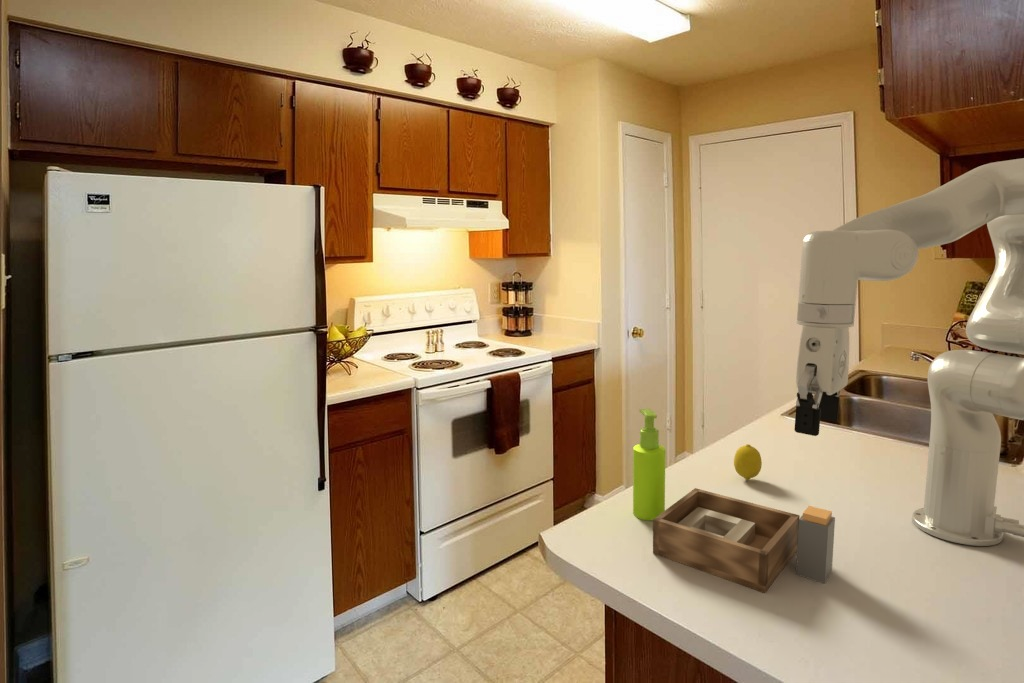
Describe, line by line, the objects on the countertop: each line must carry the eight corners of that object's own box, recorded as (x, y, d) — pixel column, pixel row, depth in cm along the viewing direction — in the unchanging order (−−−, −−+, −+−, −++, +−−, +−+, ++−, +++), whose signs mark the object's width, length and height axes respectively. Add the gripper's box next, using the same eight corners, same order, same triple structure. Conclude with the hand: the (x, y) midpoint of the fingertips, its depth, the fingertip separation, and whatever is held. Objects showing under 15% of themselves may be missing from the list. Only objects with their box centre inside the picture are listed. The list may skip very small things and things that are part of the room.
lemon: (756, 475, 127) (757, 440, 126) (764, 485, 122) (766, 448, 120) (730, 474, 128) (731, 440, 126) (737, 484, 122) (738, 448, 121)
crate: (797, 549, 96) (799, 515, 95) (764, 593, 84) (766, 554, 83) (694, 518, 108) (695, 488, 107) (652, 553, 96) (653, 519, 95)
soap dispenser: (657, 504, 114) (658, 406, 111) (668, 520, 108) (669, 416, 104) (628, 505, 114) (628, 407, 111) (637, 521, 107) (637, 417, 104)
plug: (831, 572, 89) (835, 511, 87) (824, 583, 86) (828, 520, 84) (803, 563, 92) (806, 504, 90) (796, 574, 89) (799, 513, 87)
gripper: (837, 321, 77) (827, 445, 79) (868, 312, 89) (858, 419, 92) (778, 317, 82) (770, 434, 84) (815, 309, 94) (808, 411, 97)
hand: (816, 426), depth 88 cm, fingers open, 9 cm apart
